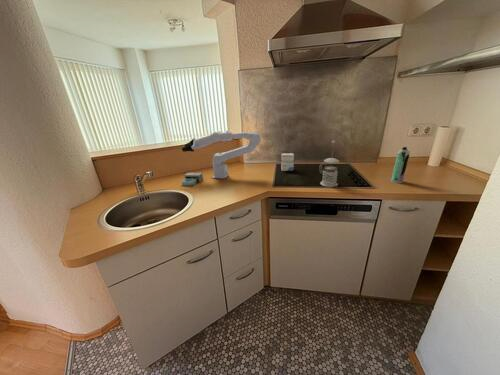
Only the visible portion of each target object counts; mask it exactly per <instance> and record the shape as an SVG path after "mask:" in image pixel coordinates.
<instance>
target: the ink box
mask: <svg viewBox="0 0 500 375" xmlns="http://www.w3.org/2000/svg"><path fill="white" fill-rule="evenodd" d="M280 157H281V158H280V159H281V160H280V162H281V165H280V168H281V170H280V171H281V172H286V171H287V172H290V171H292V172H293V171H294V165H295V164H294V160H295V154H294V153H281V156H280Z"/></svg>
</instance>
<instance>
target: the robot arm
mask: <svg viewBox="0 0 500 375" xmlns="http://www.w3.org/2000/svg"><path fill="white" fill-rule="evenodd" d="M233 139H246V140H247V141H248V142H247V143H248V144H246V145H244V146H240V147H238V148H234V149H231V150H228V151H225V152H216V153H214V155H213V156H212V157H211V163H212V170H213V176H212V177H211V178H212V179H226V178H227V177H228V176H229V170H228V168H229V167H228V164H227V163H224V162H225V161H227V160H230V159H233V158H237V157H241V156H242V155H246V154H250V153H252V152H253V151H254V150H256V148H257V147H258V146H259V145H260V142H261V139H262V138H261V135H260V134H259V132H256V131H254V132H252V131H245V132H244V131H243V132H242V131H241V132H232V131H229V130H225V131H218V132H217V131H214V132H212V133H210V134H206V135H204V136H201V137H198V138H195V137H193V138H192V139H191V140H190V141H189V142H187V143H186V144H184V147H182V148H181V150H182V152H183V153H184V152H193V153H194V152H195V149H200V148H203V147H205V146H209V145H211V144H213V143H219V142H230V141H232V140H233Z"/></svg>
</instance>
